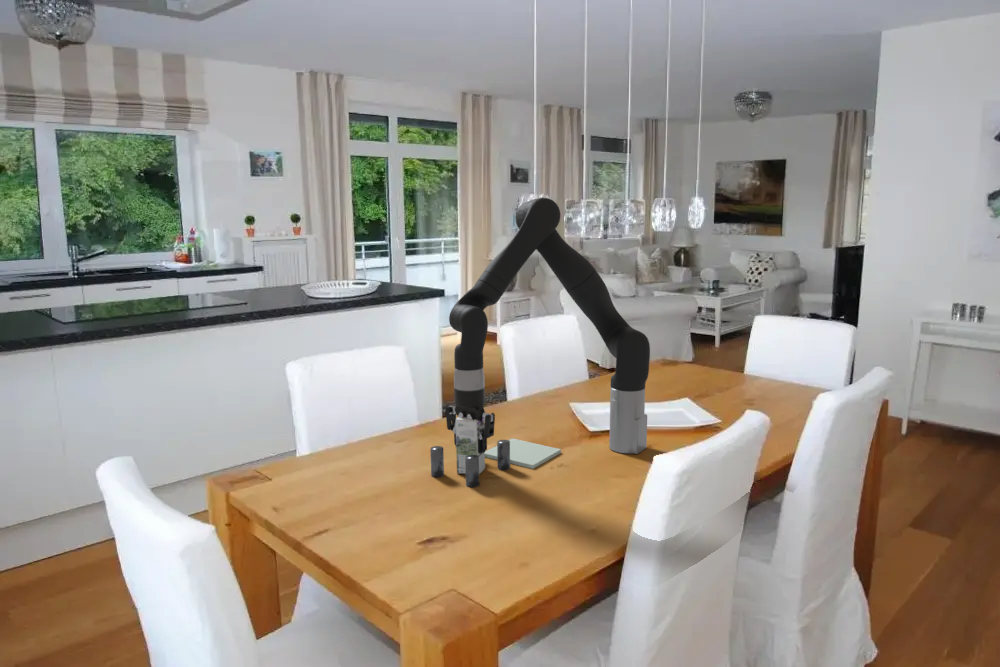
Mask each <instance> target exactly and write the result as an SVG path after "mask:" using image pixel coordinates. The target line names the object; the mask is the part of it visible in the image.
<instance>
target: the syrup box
mask: <svg viewBox="0 0 1000 667" xmlns="http://www.w3.org/2000/svg"><path fill="white" fill-rule="evenodd" d="M483 421H484V418H483ZM481 424H482V423H481V422H480V421H478V420H476V419H474V420H468V418H467V417H463V418H460V417H458V416H456V445H455V449H456V450H455V451H456V452H455V454H456V474H457V475H459V474H460V475H465V476H466V465H465V457H466V456H467V455H477V456H479V475H480V474H482V472H483V471H484V470H485V469H486V459H485V458H486V457H485V453H482V454H481V453H478V439H479V438H478V430H477V428H478V427H479V426H481Z"/></svg>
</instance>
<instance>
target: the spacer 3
mask: <svg viewBox="0 0 1000 667" xmlns="http://www.w3.org/2000/svg"><path fill="white" fill-rule="evenodd" d="M509 440H510V439H499V440H497V442H496V446H497V460H496V461H497V469H498V470H500V471H509V470H510V469H511V463H510V441H509Z"/></svg>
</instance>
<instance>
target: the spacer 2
mask: <svg viewBox="0 0 1000 667" xmlns="http://www.w3.org/2000/svg"><path fill="white" fill-rule="evenodd" d="M465 465H466V475H465V487H467V488H477V487H479V486H480V474H479V456H477V455H467V456H466V457H465Z"/></svg>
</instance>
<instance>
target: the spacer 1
mask: <svg viewBox="0 0 1000 667" xmlns="http://www.w3.org/2000/svg"><path fill="white" fill-rule="evenodd" d="M429 453H430V475H431V477H433V478H442V477H444V475H445V459H444V458H445V457H444V454H445V453H444V447H443V446H440V445H434V446H433V445H432V446H431V447H430V452H429Z"/></svg>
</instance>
